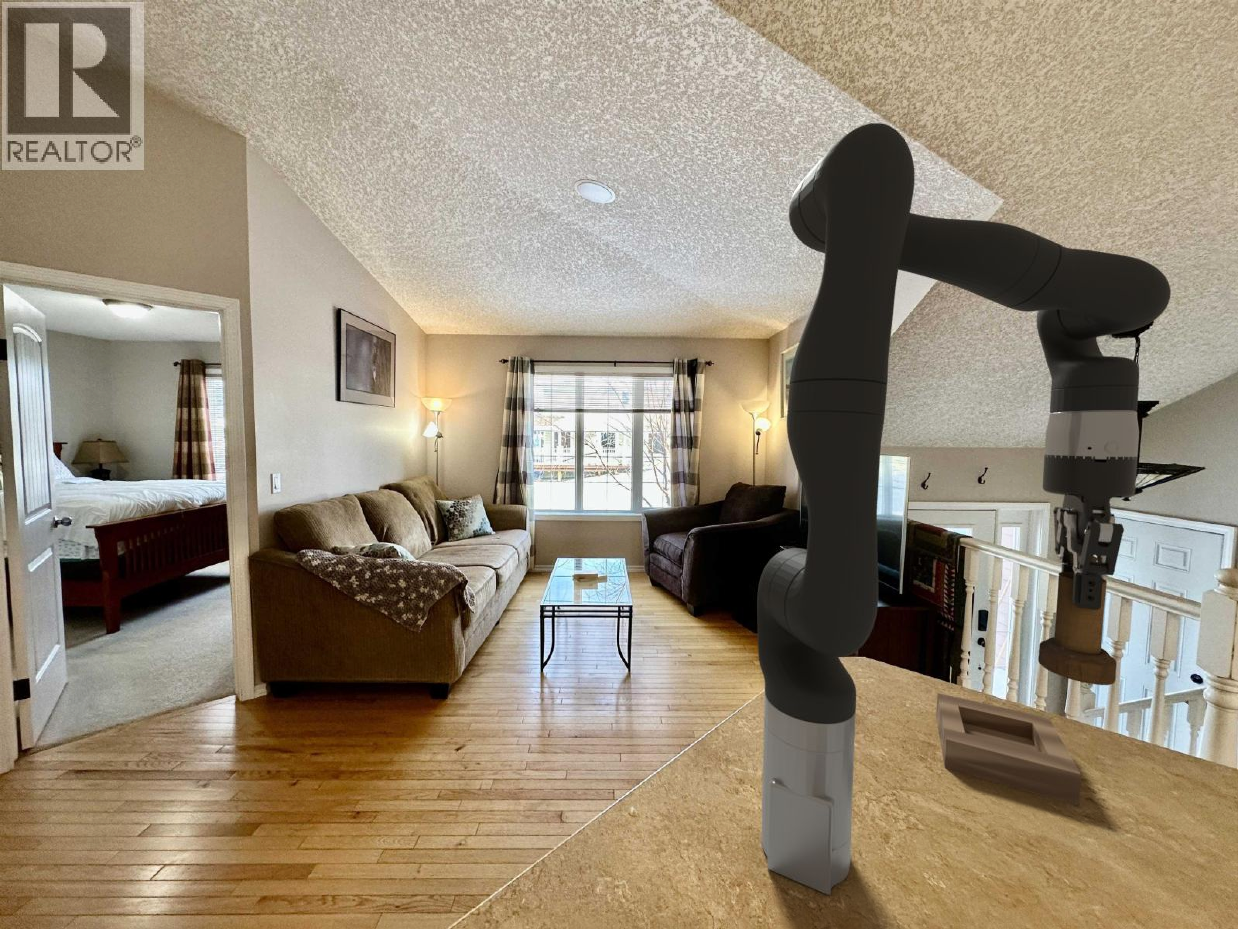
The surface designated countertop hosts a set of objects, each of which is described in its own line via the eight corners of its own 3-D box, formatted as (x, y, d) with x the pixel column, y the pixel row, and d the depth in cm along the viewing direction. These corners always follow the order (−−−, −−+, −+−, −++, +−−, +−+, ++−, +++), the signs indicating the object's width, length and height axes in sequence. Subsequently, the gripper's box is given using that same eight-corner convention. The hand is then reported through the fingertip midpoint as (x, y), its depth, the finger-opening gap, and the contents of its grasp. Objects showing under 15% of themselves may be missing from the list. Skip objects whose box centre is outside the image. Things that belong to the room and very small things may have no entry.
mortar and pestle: (1132, 689, 52) (1144, 523, 51) (1062, 682, 53) (1072, 520, 52) (1087, 660, 58) (1096, 513, 57) (1025, 655, 60) (1033, 511, 59)
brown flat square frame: (1079, 809, 60) (1081, 774, 60) (944, 770, 67) (946, 739, 67) (1047, 746, 72) (1048, 717, 72) (936, 719, 79) (937, 693, 79)
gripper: (1030, 450, 62) (1023, 581, 63) (1063, 453, 50) (1054, 615, 51) (1110, 451, 59) (1101, 590, 60) (1167, 455, 46) (1154, 630, 47)
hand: (1079, 601), depth 55 cm, fingers closed on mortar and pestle, 4 cm apart
